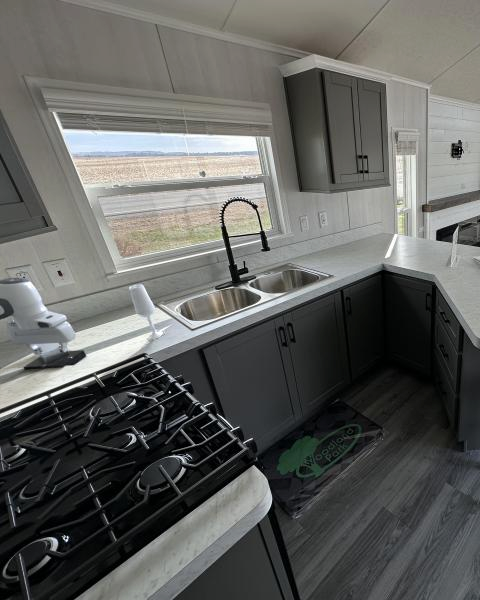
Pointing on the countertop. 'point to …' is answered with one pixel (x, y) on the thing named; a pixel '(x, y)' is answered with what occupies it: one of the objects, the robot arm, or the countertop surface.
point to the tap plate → (57, 361)
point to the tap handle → (53, 355)
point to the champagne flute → (143, 306)
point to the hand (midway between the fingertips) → (51, 351)
